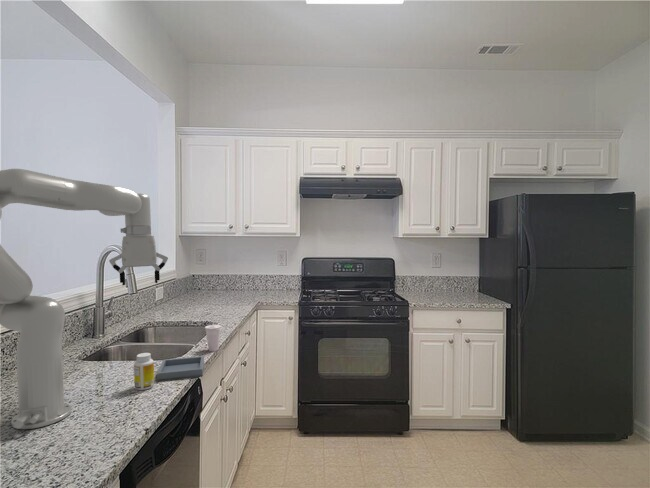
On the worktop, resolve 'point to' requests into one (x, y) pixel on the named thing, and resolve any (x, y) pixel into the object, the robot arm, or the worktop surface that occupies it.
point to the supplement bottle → (144, 372)
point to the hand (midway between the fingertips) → (140, 283)
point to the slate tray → (181, 368)
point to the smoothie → (213, 336)
